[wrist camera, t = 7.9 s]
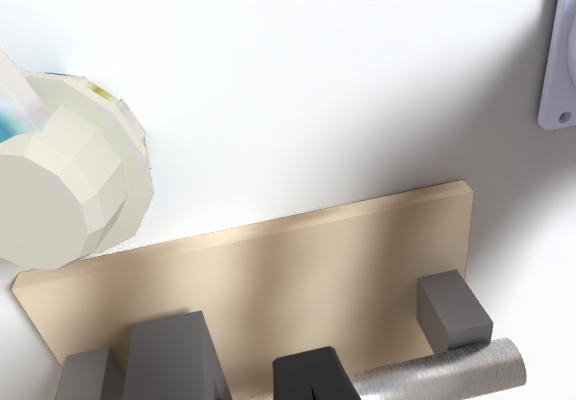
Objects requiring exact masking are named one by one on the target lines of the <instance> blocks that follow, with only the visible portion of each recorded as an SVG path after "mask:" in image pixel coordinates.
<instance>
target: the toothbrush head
mask: <svg viewBox="0 0 576 400" xmlns="http://www.w3.org/2000/svg"><path fill="white" fill-rule="evenodd" d="M145 134H146V133H145V131H144V130H143V128H142V127H141V125H140V124H139V123H138V121H137V120H136V118H135V117H134V115H133V114H132V112H131V111H130V109H129V108H128V106H127V105H126V103H125V102H124V101H123V99H122V100H120V101H119V100H118V99H116V98H115V97H113V96H111V95H110V94H108V93H107V92H105V91H104V90H102V89H101V88H99V87H97V86H96V85H94V84H93V83H91V82H90V81H88V80H87V79H85V76H75V75H65V74H54V73H38V72H29V71H21V70H18V68H17V67H16V66H15V64H14V63H13V62H12V60H11V59H10V58H9V56H8V55H7V54H6V52H5V51H4V50H3V48H2V47H1V45H0V257H1V258H3V259H5V260H7V261H9V262H11V263H13V264H15V265H17V266H20V267H22V268H30V269H47V270H56V269H59V268H62V267H65V266H68V265H70V264H72V263H74V262H76V261H78V260H80V259H82V258H84V257H86V256H88V255H90V254H92V253H102V252H104V251H106V250H108V249H109V248H111V247H113V246H115V245H117V244H119V243H121V242H123V241H125V240H127V239H129V238H131V237H133V236H135V234H136V232H137V230H138V228H139V225H140V223H141V221H142V219H143V217H144V215H145V213H146V211H147V208H148V206H149V204H150V202H151V199H152V196H153V194H154V192H153V186H152V180H151V173H150V169H151V168H150V167H149V160H148V154H147V149H146V144H145V138H144V136H145Z"/></svg>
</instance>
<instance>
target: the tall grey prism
mask: <svg viewBox="0 0 576 400" xmlns="http://www.w3.org/2000/svg"><path fill="white" fill-rule="evenodd" d="M123 400H233V399H232V396H231V393H230V391H229V388H228V385H227V382H226V379H225V376H224V373H223V370H222V367H221V365H220V362H219V359H218V356H217V353H216V350H215V347H214V344H213V341H212V338H211V336H210V333H209V330H208V327H207V324H206V321H205V318H204V315H203V312H202V310H200V311H196V312H191V313H187V314H182V315H177V316H173V317H168V318H164V319H159V320H155V321H150V322H146V323H141V324H137V325H133V328H132V335H131V342H130V350H129V357H128V364H127V372H126V379H125V386H124V394H123Z"/></svg>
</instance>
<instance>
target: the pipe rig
mask: <svg viewBox="0 0 576 400" xmlns="http://www.w3.org/2000/svg"><path fill="white" fill-rule="evenodd" d="M473 195H474V191H473V190H472V189H471V188H470V187H469V185H468V184H467V183H466V182H465V181H464V180H459V181H455V182H450V183H445V184H440V185H436V186H431V187H426V188H421V189H417V190H412V191H407V192H402V193H398V194H393V195H388V196H383V197H379V198H374V199H369V200H364V201H360V202H355V203H350V204H345V205H341V206H336V207H331V208H326V209H322V210H317V211H312V212H307V213H303V214H298V215H293V216H288V217H284V218H279V219H274V220H269V221H265V222H260V223H255V224H250V225H246V226H241V227H236V228H231V229H227V230H222V231H217V232H212V233H208V234H203V235H198V236H193V237H189V238H184V239H179V240H174V241H170V242H165V243H160V244H156V245H151V246H146V247H141V248H137V249H132V250H127V251H122V252H118V253H113V254H108V255H103V256H99V257H94V258H89V259H84V260H80V261H76V262H74V263H72V264H70V265H68V266H65V267H62V268H59V269H56V270H47V269H37V270H32V271H27V272H23V273H19V274H18V276H17V278H16V280H15V282H14V285H13V287H12V289H11V290H12V291H13V293H14V294H15V296H16V298H17V299H18V301H19V302H20V304H21V305H22V307H23V308H24V310H25V311H26V313H27V315H28V316H29V318H30V319H31V321H32V322H33V324H34V325H35V327H36V328H37V330H38V331H39V333H40V335H41V336H42V338H43V339H44V341H45V342H46V344H47V345H48V347H49V348H50V350H51V352H52V353H53V355H54V356H55V358H56V359H57V361H58V362H59V364H60V365H61V367H62V368H63V371H62V375H61V379H60V382H59V386H58V390H57V394H56V397H55V400H123V394H124V386H125V379H126V372H127V364H128V357H129V350H130V342H131V335H132V328H133V325H137V324H141V323H146V322H150V321H155V320H159V319H164V318H168V317H173V316H177V315H182V314H187V313H191V312H196V311H200V310H202V312H203V315H204V318H205V321H206V324H207V327H208V330H209V333H210V336H211V338H212V341H213V344H214V347H215V350H216V353H217V356H218V359H219V362H220V365H221V367H222V370H223V373H224V376H225V379H226V382H227V385H228V388H229V391H230V393H231V396H232V399H233V400H273V366H272V362H273V361H274V360H275V359H276V358H279V357H283V356H287V355H292V354H296V353H301V352H305V351H309V350H314V349H318V348H322V347H327V346H331V347H333V348H335V351H336V353H337V355H338V358H339V360H340V362H341V364H342V366H343V368H344V370H345V372H346V374H347V375H348V377H349V379H350V381H351V383H352V384H353V386H354V388H355V389H356V391H357V393H358V394H359V396H360V398H361V399H362V400H465V399H469V398H473V397H477V396H482V395H486V394H490V393H494V392H498V391H503V390H507V389H511V388H515V387H519V386H523V385H525V383H526V369H525V365H524V362H523V359H522V357H521V355H520V353H519V351H518V349H517V347H516V346H515V345H514V343H513V342H512V341H511V340H509V339H508V338H502V339H498V340H493V341H491V335H492V329H493V322H492V320H491V319H490V317H489V316H488V314H487V313H486V312H485V310H484V309H483V307H482V306H481V304H480V303H479V301H478V300H477V298H476V297H475V295H474V294H473V293H472V291H471V290H470V288H469V287H468V285H467V284H466V282H465V275H466V265H467V255H468V245H469V235H470V225H471V215H472V205H473Z"/></svg>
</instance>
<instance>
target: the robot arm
mask: <svg viewBox="0 0 576 400" xmlns="http://www.w3.org/2000/svg"><path fill="white" fill-rule="evenodd" d="M563 113H565V114H564V116H563V117H562V118H561V119H559V118H560V116H561V115H562V114H563ZM538 124H539V126H540V127H542V128H543V129H545V130H555V129H560V128H564V127H569V126H574V125H576V0H558V4H557V9H556V15H555V21H554V27H553V33H552V38H551V44H550V50H549V56H548V62H547V67H546V73H545V79H544V85H543V91H542V96H541V102H540V108H539V114H538ZM272 366H273V400H362V399H361V398H360V396H359V394H358V393H357V391H356V389H355V388H354V386H353V384H352V383H351V381H350V379H349V377H348V375H347V374H346V372H345V370H344V368H343V366H342V364H341V362H340V360H339V358H338V355H337V353H336V351H335V348H333V347H331V346H327V347H322V348H318V349H314V350H309V351H305V352H301V353H296V354H292V355H287V356H283V357H279V358H276V359H275V360H274V361H273V362H272Z"/></svg>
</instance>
